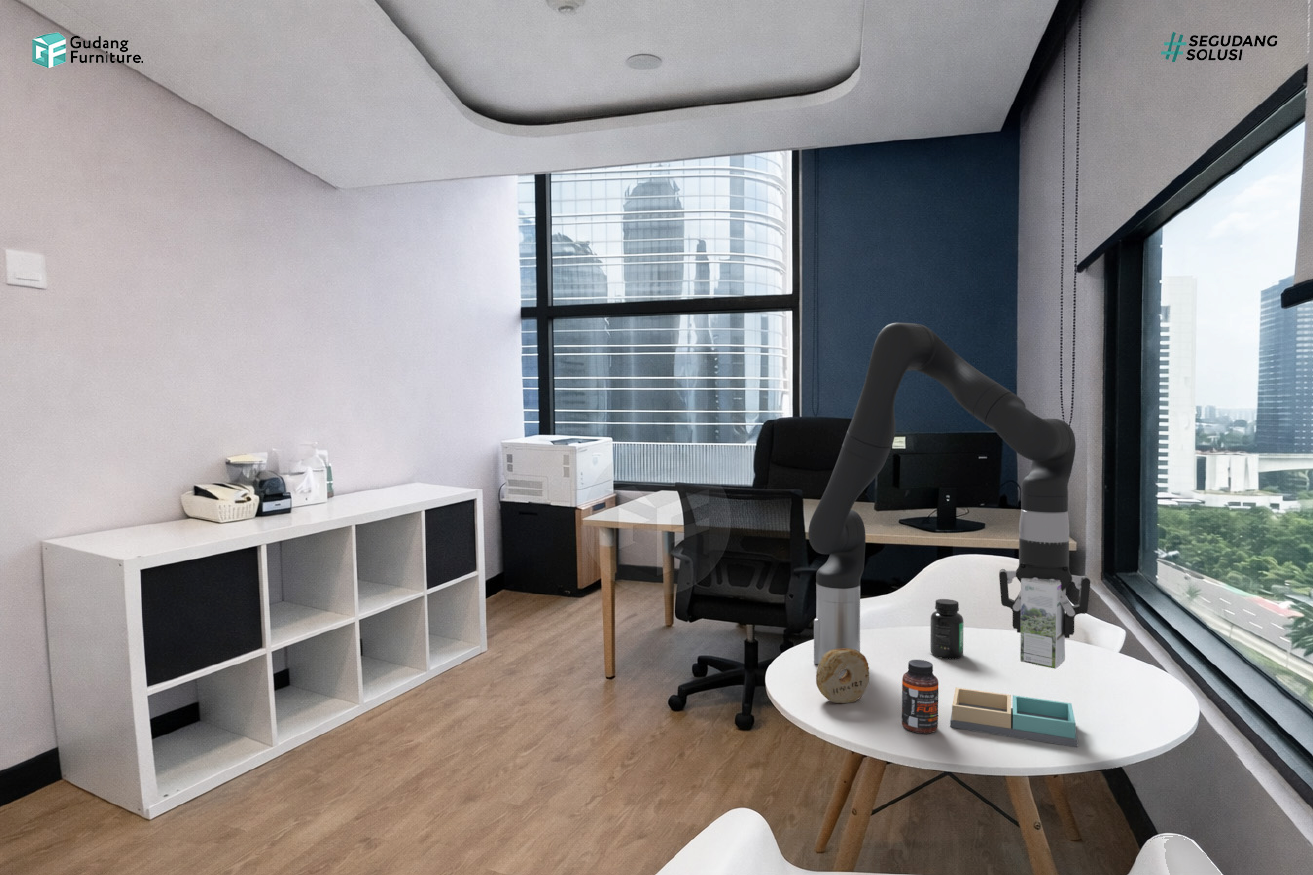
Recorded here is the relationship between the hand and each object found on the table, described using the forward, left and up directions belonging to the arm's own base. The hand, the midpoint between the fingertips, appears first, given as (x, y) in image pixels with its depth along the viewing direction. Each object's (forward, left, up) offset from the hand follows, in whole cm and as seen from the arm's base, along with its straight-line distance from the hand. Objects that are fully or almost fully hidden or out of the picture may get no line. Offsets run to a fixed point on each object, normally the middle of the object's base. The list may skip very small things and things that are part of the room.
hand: (1042, 633), depth 128 cm
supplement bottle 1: (-19, -7, -17) cm, 26 cm away
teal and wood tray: (-5, 0, -17) cm, 17 cm away
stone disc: (-34, -1, -17) cm, 38 cm away
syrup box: (0, 0, -5) cm, 5 cm away
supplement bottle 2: (-18, +35, -17) cm, 43 cm away
